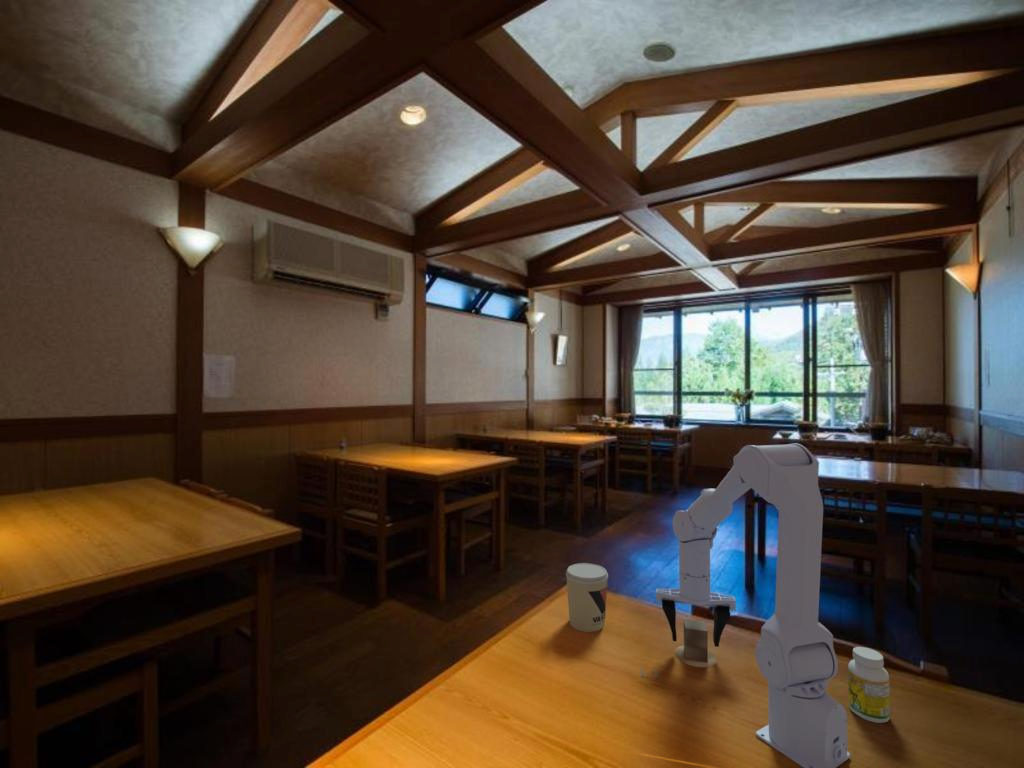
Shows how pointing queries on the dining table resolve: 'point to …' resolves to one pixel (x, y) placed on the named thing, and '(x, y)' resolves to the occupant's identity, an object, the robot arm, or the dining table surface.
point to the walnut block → (695, 640)
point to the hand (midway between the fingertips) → (695, 641)
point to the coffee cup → (587, 596)
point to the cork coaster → (681, 656)
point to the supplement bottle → (868, 685)
